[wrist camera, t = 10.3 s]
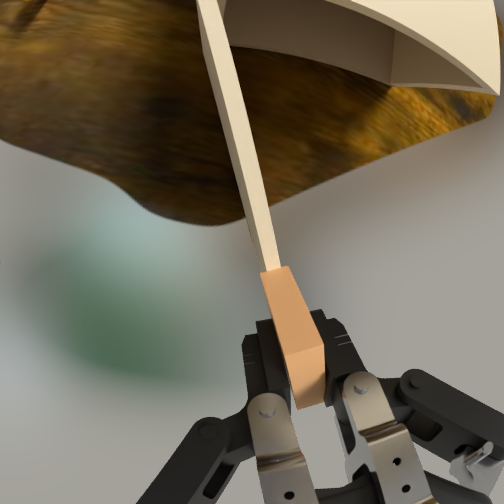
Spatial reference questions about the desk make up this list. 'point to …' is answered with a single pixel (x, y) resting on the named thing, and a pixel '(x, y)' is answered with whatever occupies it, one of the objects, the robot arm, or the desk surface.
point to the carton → (378, 38)
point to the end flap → (262, 219)
